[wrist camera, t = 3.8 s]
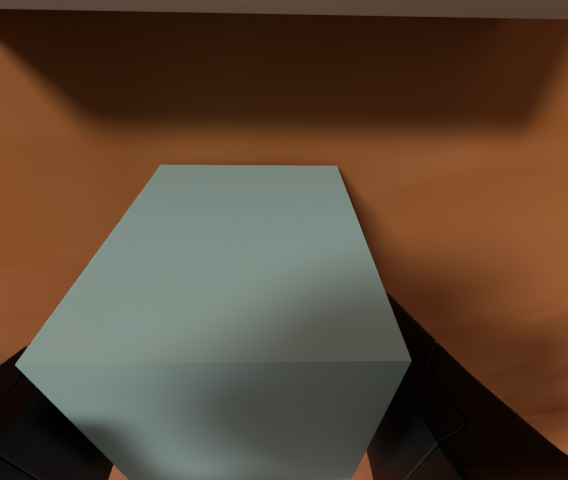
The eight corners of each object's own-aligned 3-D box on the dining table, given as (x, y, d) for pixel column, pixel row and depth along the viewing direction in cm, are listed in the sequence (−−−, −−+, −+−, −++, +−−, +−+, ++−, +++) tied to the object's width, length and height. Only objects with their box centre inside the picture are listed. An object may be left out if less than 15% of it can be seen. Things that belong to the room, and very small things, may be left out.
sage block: (321, 287, 12) (351, 478, 7) (191, 287, 12) (132, 483, 7) (337, 165, 9) (411, 360, 4) (160, 164, 8) (14, 364, 4)
